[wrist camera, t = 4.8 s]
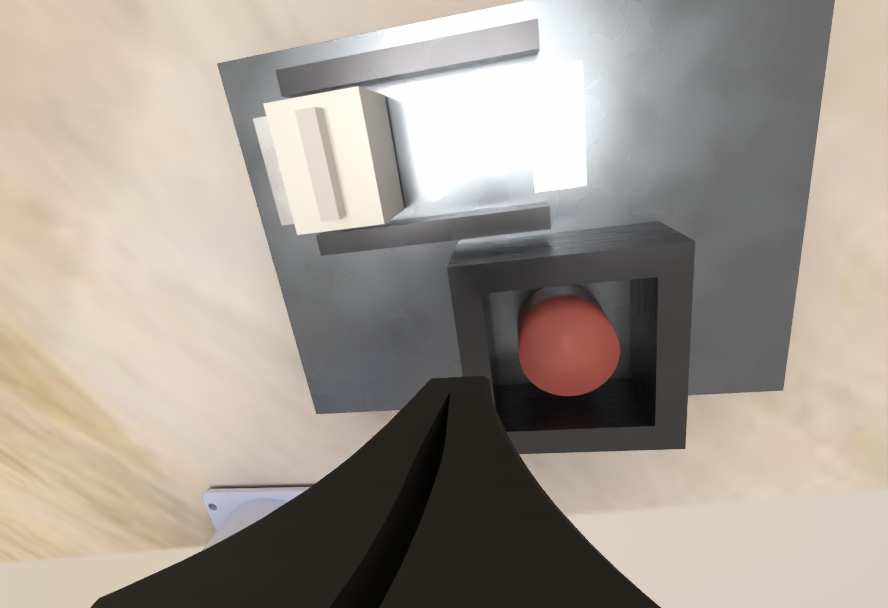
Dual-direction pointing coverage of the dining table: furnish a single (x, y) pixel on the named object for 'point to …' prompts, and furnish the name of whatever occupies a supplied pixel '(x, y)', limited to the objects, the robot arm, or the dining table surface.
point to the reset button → (566, 341)
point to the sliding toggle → (336, 159)
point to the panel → (559, 204)
